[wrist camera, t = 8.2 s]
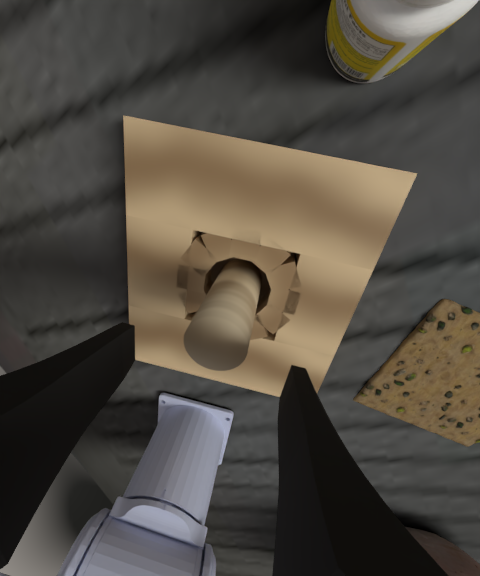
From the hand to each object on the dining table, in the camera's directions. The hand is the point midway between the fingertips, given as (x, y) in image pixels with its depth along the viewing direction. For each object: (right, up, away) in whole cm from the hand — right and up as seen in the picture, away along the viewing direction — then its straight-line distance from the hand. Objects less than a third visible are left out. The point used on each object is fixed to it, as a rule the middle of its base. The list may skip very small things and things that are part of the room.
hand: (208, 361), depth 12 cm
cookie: (+19, -4, +10) cm, 22 cm away
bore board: (+2, +4, +8) cm, 10 cm away
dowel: (+1, +4, +8) cm, 9 cm away
